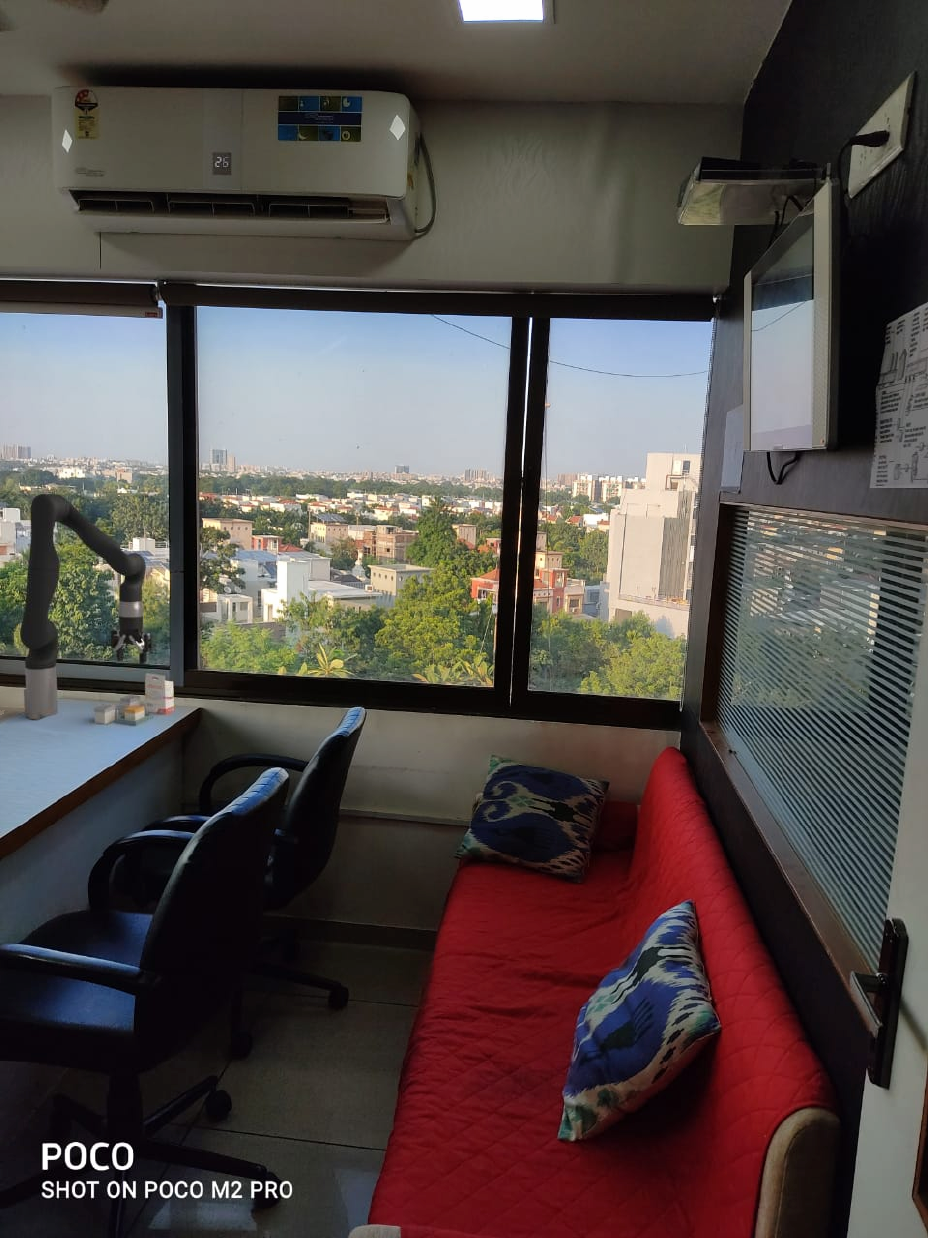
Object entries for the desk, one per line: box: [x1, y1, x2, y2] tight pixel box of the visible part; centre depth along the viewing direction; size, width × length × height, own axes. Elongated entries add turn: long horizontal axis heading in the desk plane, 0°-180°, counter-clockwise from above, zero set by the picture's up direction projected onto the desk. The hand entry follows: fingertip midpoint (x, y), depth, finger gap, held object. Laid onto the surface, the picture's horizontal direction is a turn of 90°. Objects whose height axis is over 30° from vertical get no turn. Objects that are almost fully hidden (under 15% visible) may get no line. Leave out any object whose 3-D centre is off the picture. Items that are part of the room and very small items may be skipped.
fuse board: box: [89, 694, 141, 726], centre depth 283 cm, size 7×19×6 cm, turn 165°
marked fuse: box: [124, 705, 146, 721], centre depth 279 cm, size 4×5×5 cm
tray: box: [114, 712, 154, 727], centre depth 280 cm, size 8×9×2 cm
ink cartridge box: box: [144, 673, 175, 715], centre depth 290 cm, size 9×5×15 cm, turn 73°
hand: (131, 662), depth 277 cm, fingers open, 8 cm apart
